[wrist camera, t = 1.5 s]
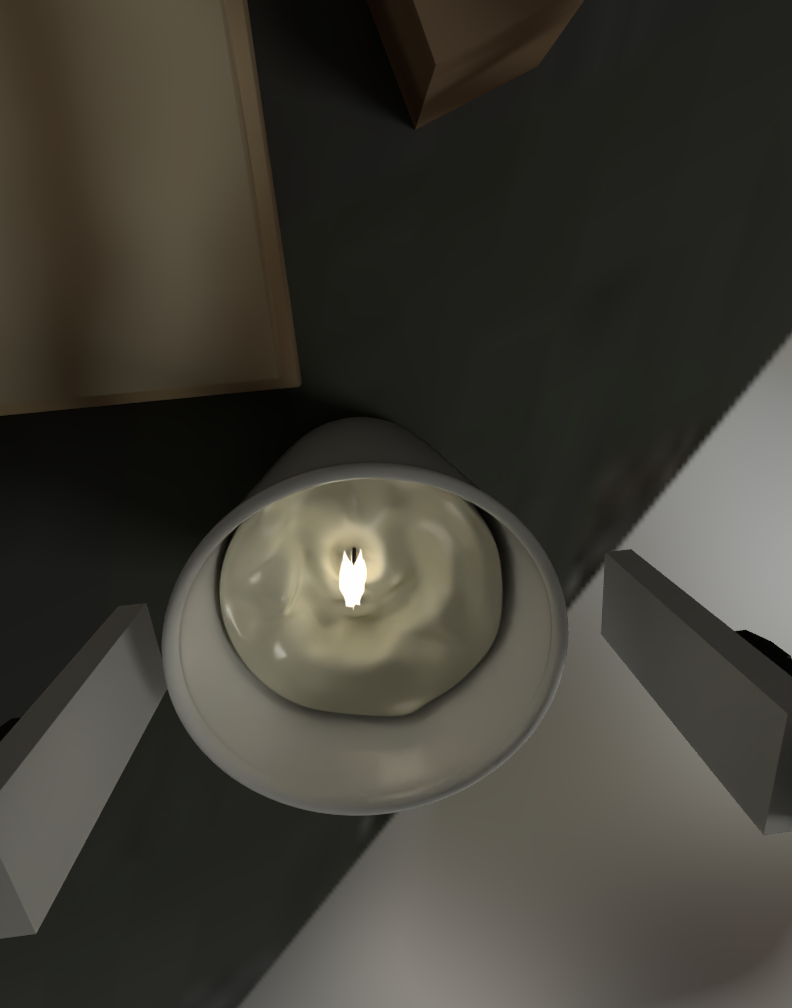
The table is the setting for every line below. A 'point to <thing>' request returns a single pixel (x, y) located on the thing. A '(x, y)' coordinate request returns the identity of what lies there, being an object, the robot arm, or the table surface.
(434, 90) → the walnut block
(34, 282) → the stand
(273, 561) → the candle holder
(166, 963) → the table surface
